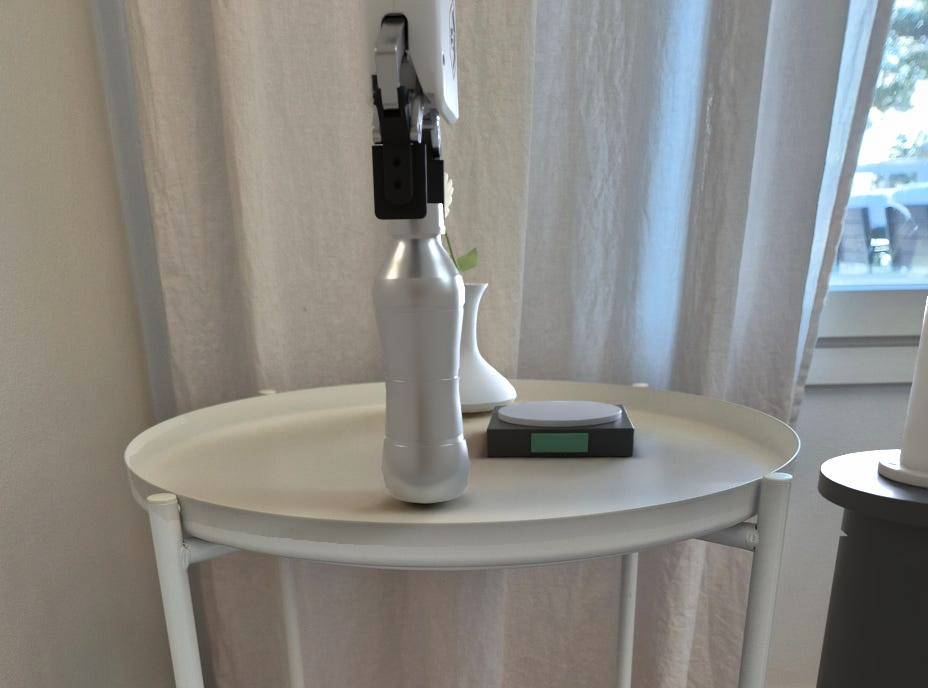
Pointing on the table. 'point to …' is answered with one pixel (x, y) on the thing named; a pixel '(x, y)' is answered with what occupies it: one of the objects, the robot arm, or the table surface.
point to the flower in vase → (474, 341)
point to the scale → (560, 430)
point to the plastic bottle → (421, 362)
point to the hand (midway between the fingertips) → (412, 221)
